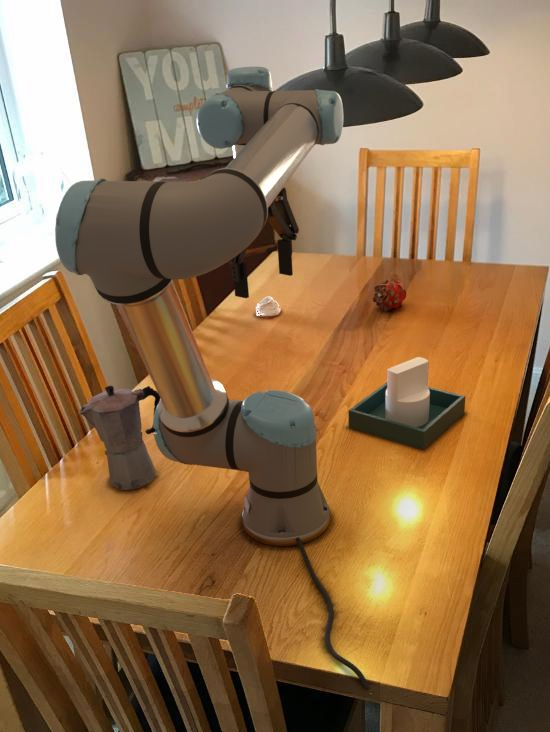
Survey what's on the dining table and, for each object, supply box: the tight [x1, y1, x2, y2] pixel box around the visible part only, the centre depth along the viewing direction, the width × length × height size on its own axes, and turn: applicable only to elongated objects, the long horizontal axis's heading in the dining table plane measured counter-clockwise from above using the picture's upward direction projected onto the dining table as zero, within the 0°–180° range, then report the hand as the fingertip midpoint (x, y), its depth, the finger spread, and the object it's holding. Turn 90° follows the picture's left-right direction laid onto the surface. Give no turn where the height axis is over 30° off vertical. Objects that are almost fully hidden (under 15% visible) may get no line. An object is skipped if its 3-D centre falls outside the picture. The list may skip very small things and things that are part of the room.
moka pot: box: [78, 385, 160, 491], centre depth 157 cm, size 10×15×20 cm, turn 117°
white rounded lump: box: [254, 296, 282, 318], centre depth 227 cm, size 8×7×5 cm
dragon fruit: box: [372, 278, 407, 312], centre depth 225 cm, size 8×8×12 cm
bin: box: [347, 381, 466, 451], centre depth 174 cm, size 18×18×4 cm
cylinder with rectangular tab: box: [385, 356, 430, 427], centre depth 171 cm, size 9×9×12 cm
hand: (264, 285), depth 159 cm, fingers open, 13 cm apart
